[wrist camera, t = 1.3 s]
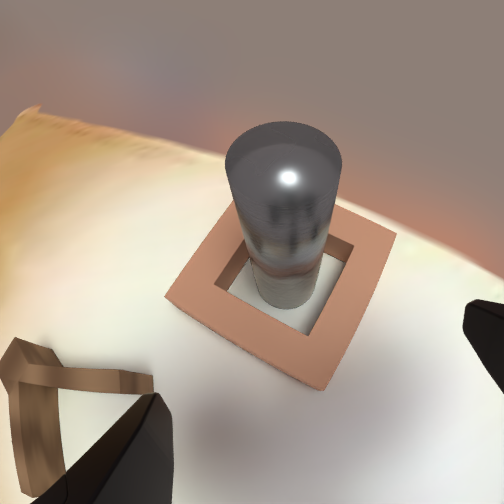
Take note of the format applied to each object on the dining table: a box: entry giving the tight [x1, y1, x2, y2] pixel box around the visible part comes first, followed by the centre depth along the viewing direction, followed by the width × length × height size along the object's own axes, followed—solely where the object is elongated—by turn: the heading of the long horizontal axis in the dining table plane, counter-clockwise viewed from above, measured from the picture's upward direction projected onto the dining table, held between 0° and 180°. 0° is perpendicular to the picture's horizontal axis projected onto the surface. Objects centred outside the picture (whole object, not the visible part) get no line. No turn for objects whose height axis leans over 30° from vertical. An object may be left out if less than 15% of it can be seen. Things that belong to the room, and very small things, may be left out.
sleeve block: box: [164, 200, 397, 391], centre depth 21 cm, size 12×12×3 cm
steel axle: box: [225, 121, 342, 309], centre depth 17 cm, size 4×4×13 cm
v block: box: [0, 337, 154, 498], centre depth 17 cm, size 10×16×5 cm, turn 141°
